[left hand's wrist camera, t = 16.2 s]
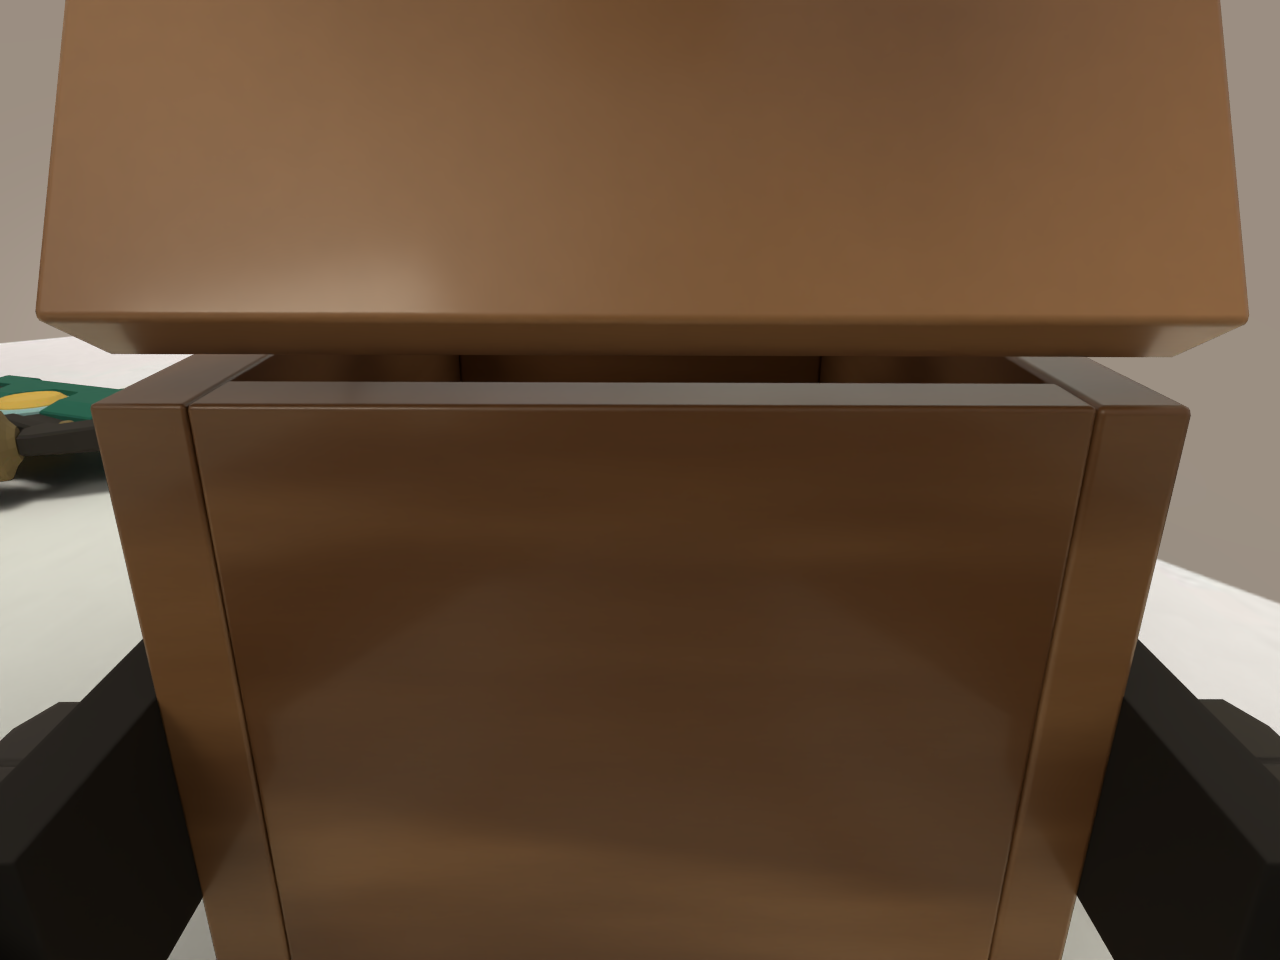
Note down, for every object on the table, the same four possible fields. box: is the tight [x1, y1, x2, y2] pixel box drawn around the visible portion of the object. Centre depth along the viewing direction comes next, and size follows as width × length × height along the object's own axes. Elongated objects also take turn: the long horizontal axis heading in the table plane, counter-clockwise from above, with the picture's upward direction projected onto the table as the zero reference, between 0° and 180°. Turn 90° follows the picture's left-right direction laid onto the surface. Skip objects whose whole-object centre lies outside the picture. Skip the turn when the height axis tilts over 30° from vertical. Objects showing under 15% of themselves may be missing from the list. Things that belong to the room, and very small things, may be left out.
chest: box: [90, 354, 1191, 960], centre depth 16 cm, size 13×10×11 cm
